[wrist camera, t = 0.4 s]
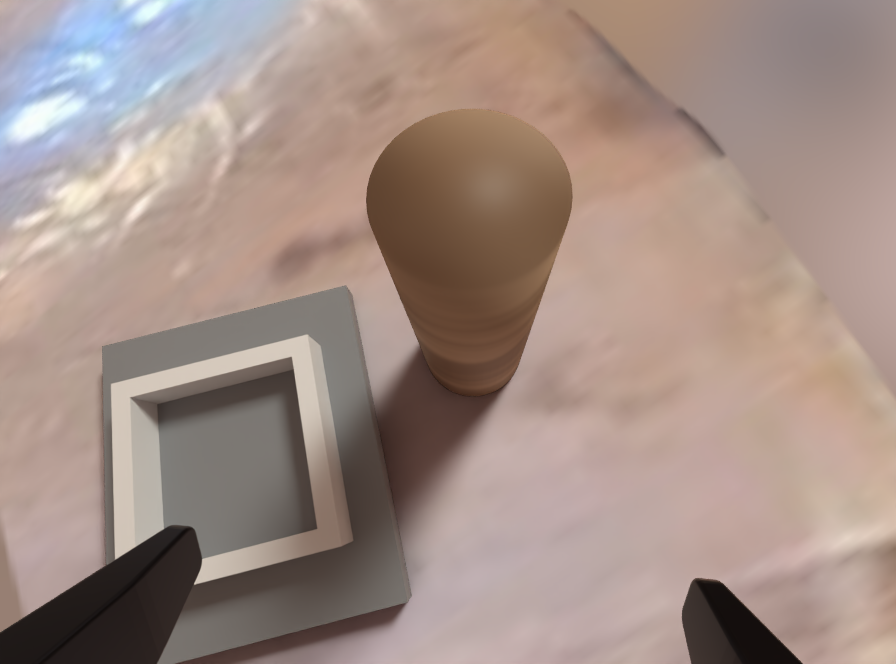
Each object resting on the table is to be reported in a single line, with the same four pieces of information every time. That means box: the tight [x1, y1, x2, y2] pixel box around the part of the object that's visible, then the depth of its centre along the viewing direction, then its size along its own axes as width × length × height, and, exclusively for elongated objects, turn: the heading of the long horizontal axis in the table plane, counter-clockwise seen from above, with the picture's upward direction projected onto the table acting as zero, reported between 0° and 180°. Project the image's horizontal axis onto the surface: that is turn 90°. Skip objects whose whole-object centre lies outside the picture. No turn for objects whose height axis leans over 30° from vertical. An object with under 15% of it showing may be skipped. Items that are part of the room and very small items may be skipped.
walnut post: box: [366, 109, 572, 396], centre depth 17 cm, size 5×5×13 cm
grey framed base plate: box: [102, 286, 412, 664], centre depth 21 cm, size 14×12×3 cm
